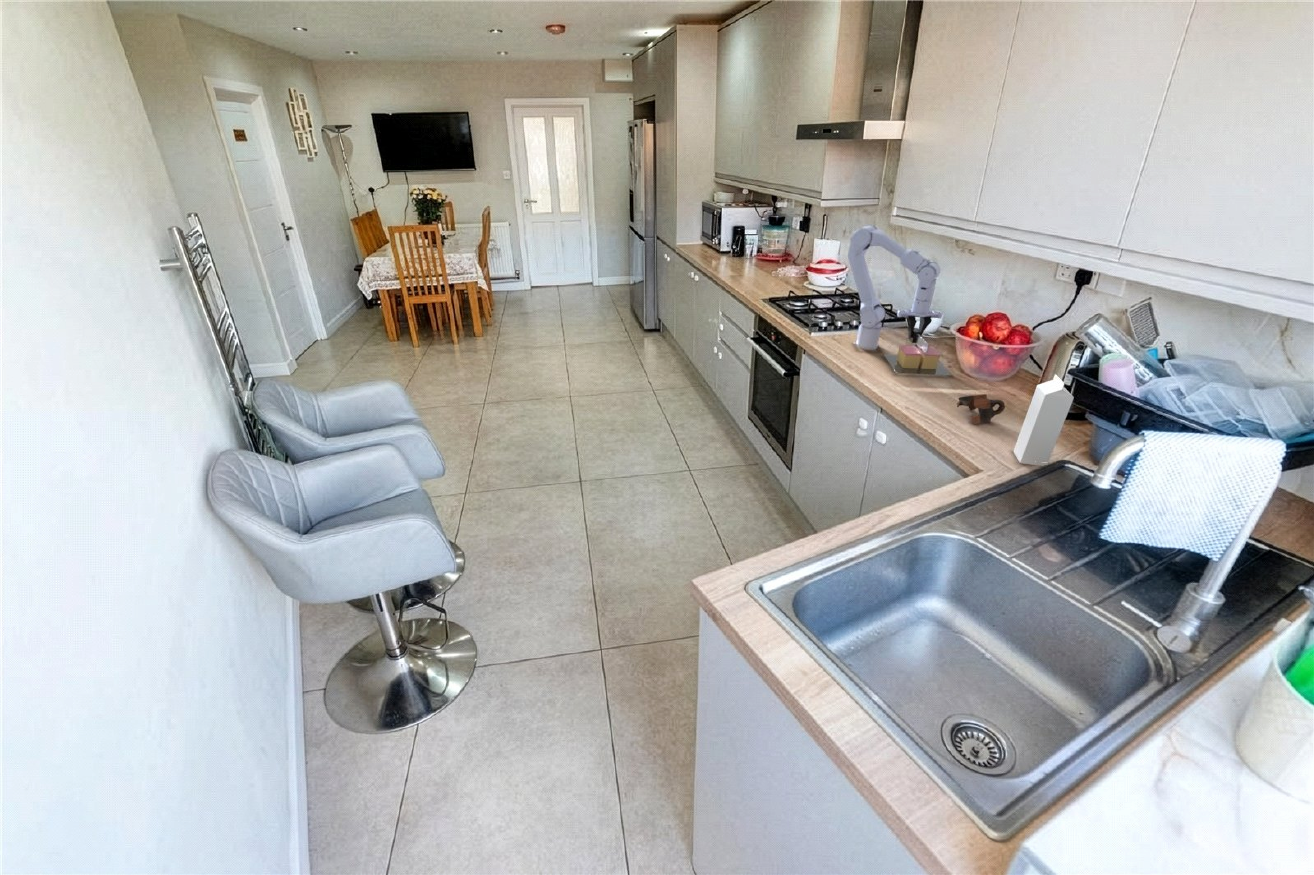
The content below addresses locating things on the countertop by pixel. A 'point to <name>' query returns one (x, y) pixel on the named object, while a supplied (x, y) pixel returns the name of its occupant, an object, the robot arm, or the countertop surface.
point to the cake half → (908, 357)
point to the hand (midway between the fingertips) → (914, 336)
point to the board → (898, 368)
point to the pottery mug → (981, 407)
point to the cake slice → (929, 359)
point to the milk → (1043, 422)
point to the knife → (919, 341)
